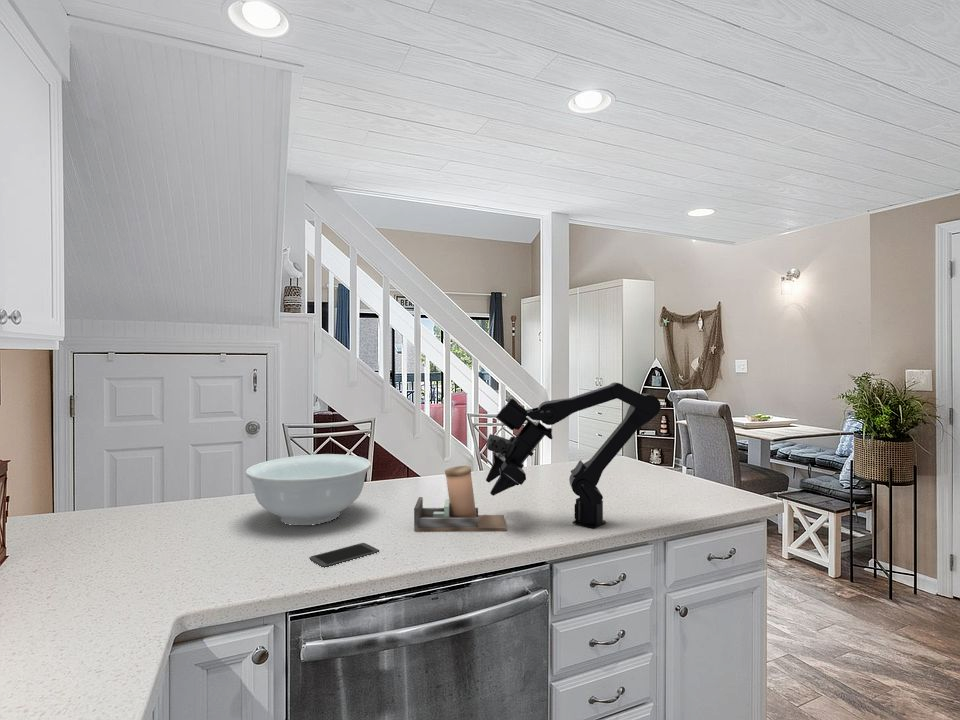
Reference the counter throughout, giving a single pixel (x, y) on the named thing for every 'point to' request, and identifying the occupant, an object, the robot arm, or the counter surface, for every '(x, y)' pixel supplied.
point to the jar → (460, 492)
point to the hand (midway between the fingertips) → (489, 487)
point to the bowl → (308, 486)
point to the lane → (454, 521)
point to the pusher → (446, 511)
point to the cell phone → (343, 554)
